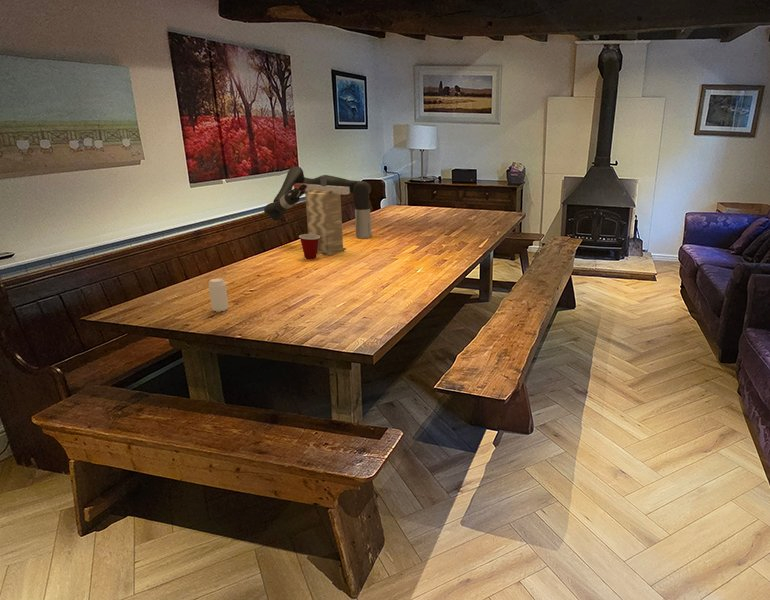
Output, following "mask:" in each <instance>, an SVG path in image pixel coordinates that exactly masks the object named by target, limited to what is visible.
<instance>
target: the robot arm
mask: <svg viewBox="0 0 770 600" xmlns="http://www.w3.org/2000/svg"><path fill="white" fill-rule="evenodd" d="M320 176H326V183H327V185H329V186H344V187H349V189H350V194H352V199H353V204H354V216H355V217H354V219H355V220H354V222H355V223H354V224H355V237H357V239H368V238H371V237H372V236H373V235H372V219H371V204H370V201H369V195H370V193H371V192H372V186H371V184H370V182H367V181H365V180H354V179H353V180H352V179H351V180H350V179H347V178H343V177H340V176H339V177H337V176H335V175H328V174H323V175H319V176H317V177H314V178H312V177H311V178H309V177H305V174H304V171H303V168H302V167H300V166H298V165H297V166H292V167H290V168H289V170H288V171H287V174H286V177H285V179H284V182H283V183H282V186H281V188H280V189H279V191H278V193H277V195H276V196H275V197H274V199H273V202H270V203H268V204H267V205H265V207H264V209H263V213H265V215H267V217H269V218H270V219H271V220H273V221H274V222H278V221H279V220H281V218H282V217H283V213H285V212H286V211H287V210H288V209H290V208H292V207H293V206H294V205H296V204H297V203H298V202H299V201H300V199H301V197H302V196H303V195H305V193H308V192H301V191H302V190H303V189H305V188H306V186H305V184H313V185H321V182H320ZM297 183H303V185H301V186H300V187H298V188H295V189H294V184H297Z"/></svg>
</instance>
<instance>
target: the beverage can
mask: <svg viewBox="0 0 770 600" xmlns="http://www.w3.org/2000/svg"><path fill="white" fill-rule="evenodd" d="M208 292H209V299H210V300H209V301H210V306H211V307H210V308H211V310H212V311H214V312H215V311H216V313H221V311H223V312H225V311H227V310H228V309H229V302H228V301H229V298H228V294H227V293H228V292H227V285H226V282H225V280H224V278H221V277H218V278H217V277H216V278H212V279H210V280H209V283H208Z"/></svg>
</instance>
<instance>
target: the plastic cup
mask: <svg viewBox="0 0 770 600" xmlns="http://www.w3.org/2000/svg"><path fill="white" fill-rule="evenodd" d="M298 237H299V239H300V240H299V241H300V243H301V248H302V252H303V256H304V259H305V258H306V259H305V260H315V259H317V256H318V254H317V248H318V241H319V238H320V236H319V235H315V234H308V233H304V234H300V235H299V236H298Z"/></svg>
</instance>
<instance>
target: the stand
mask: <svg viewBox="0 0 770 600" xmlns="http://www.w3.org/2000/svg"><path fill="white" fill-rule="evenodd" d="M304 195H305V206H306V207H305V208H306V210H305V211H306V223H307V234H315V235H319V236H320V238H319V241H318V248H317V255H320V254H322V255H321V256H326V255H328V256H329V255H330V256H333V255H332V254H334V255H336V254H335V253H337V254H339V253H338V252H340V253H342V252H341V251H343V252H345V251H344V250H346V251H347V249H346V247H344V237H343V220H342V219H343V218H342V217H343V215H342V198H341V195H342V194H331V193H330V191H320V190H309V192H308V193H305V194H304ZM328 256H327V257H328ZM330 256H329V257H330Z"/></svg>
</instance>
